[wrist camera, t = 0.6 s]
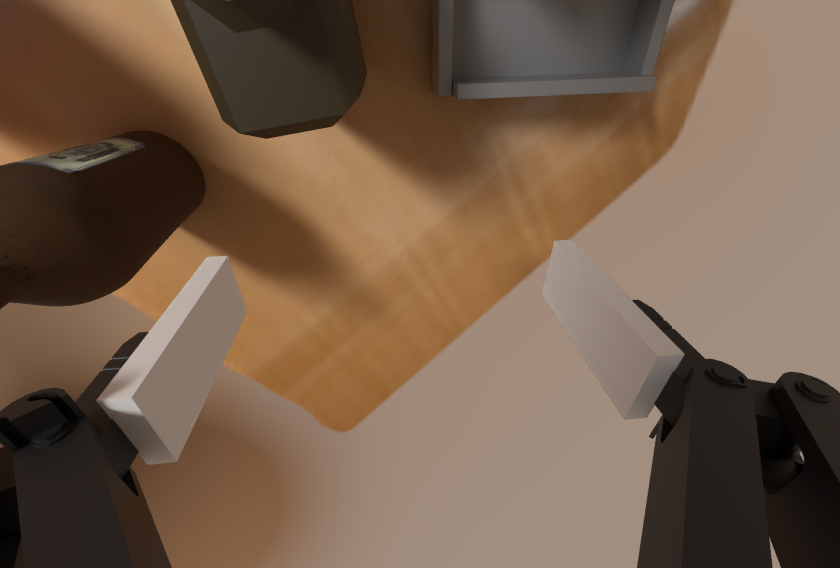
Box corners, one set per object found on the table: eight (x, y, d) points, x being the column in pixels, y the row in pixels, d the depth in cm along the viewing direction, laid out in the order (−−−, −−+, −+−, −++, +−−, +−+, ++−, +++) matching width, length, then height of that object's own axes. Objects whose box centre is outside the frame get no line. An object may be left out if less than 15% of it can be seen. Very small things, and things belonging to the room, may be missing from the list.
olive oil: (229, 209, 42) (89, 366, 22) (143, 228, 43) (-77, 401, 22) (178, 113, 36) (-83, 203, 16) (78, 136, 37) (-308, 254, 16)
